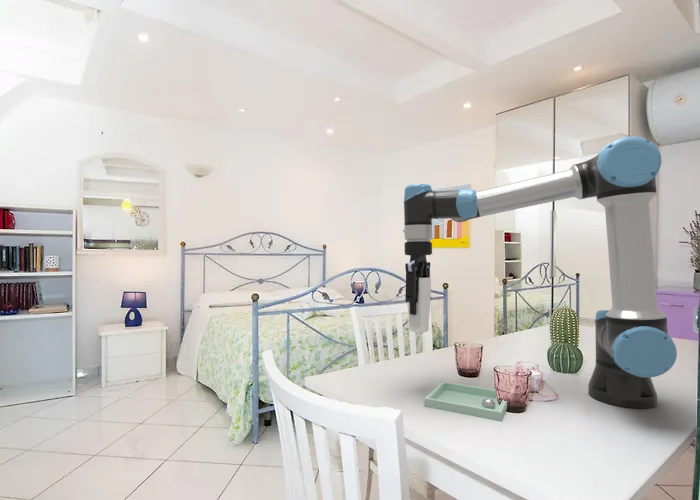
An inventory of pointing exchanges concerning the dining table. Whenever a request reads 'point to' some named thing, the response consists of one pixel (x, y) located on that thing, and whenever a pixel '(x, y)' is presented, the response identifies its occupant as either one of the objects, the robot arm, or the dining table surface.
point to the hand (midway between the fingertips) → (418, 324)
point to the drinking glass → (423, 305)
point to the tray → (465, 400)
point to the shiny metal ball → (488, 403)
